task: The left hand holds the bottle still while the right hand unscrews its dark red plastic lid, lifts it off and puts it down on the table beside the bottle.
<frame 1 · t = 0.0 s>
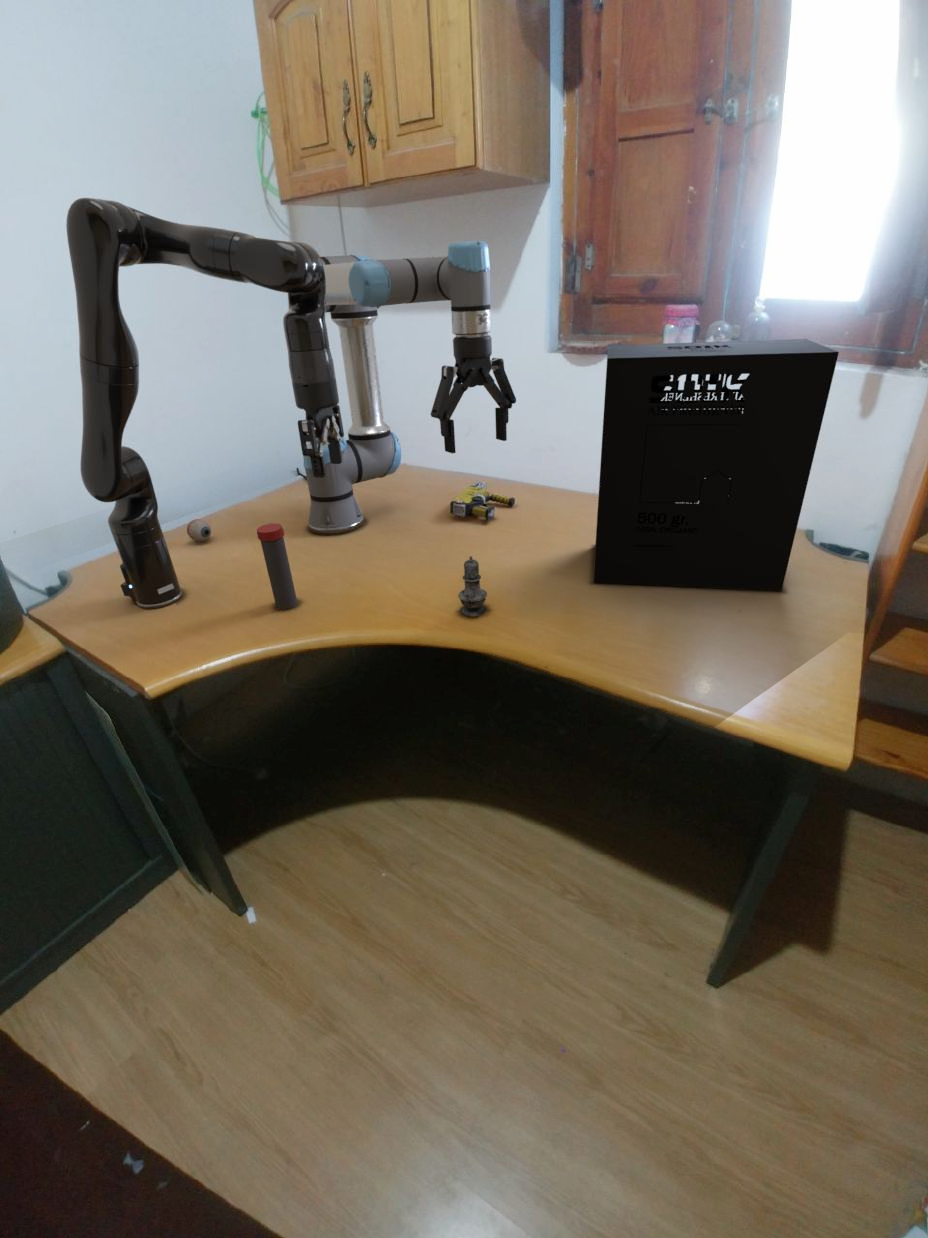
left hand: (328, 469, 112), 29 cm above the table, tool pointing down, fingers open, 8 cm apart
right hand: (476, 445, 127), 28 cm above the table, tool pointing down, fingers open, 13 cm apart
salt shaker: (473, 610, 123), on the table
bottle: (286, 604, 129), on the table
toy gun: (487, 508, 175), on the table
cardboard box: (679, 567, 135), on the table
eyeball: (202, 541, 164), on the table
lid: (269, 529, 121), point 17 cm above the table, screwed on, not yet turned
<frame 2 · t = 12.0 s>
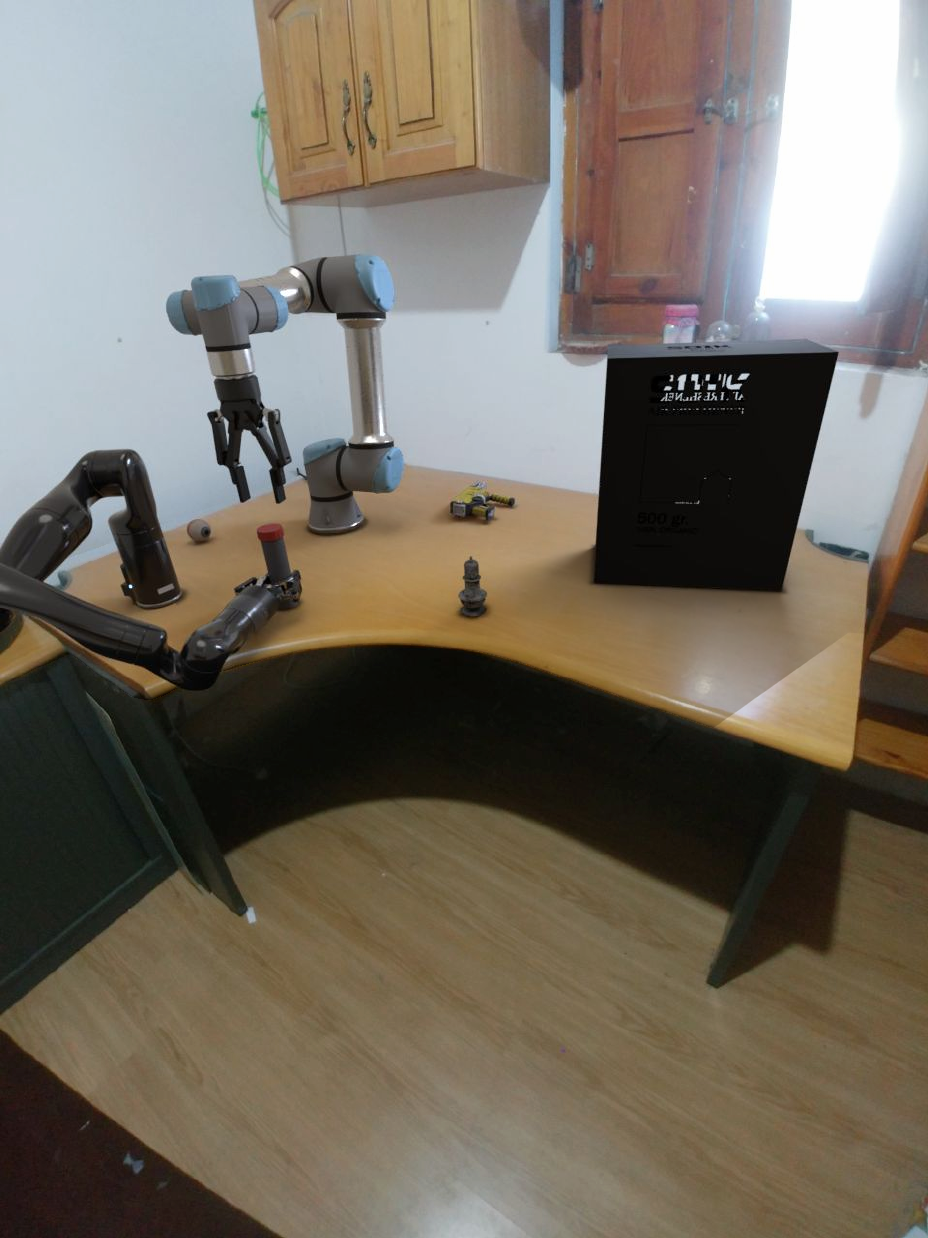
left hand: (286, 573, 129), 6 cm above the table, tool horizontal, fingers closed on bottle, 4 cm apart
right hand: (263, 500, 118), 23 cm above the table, tool pointing down, fingers open, 7 cm apart
bottle: (286, 604, 129), on the table, touching left hand
everything else where it was.
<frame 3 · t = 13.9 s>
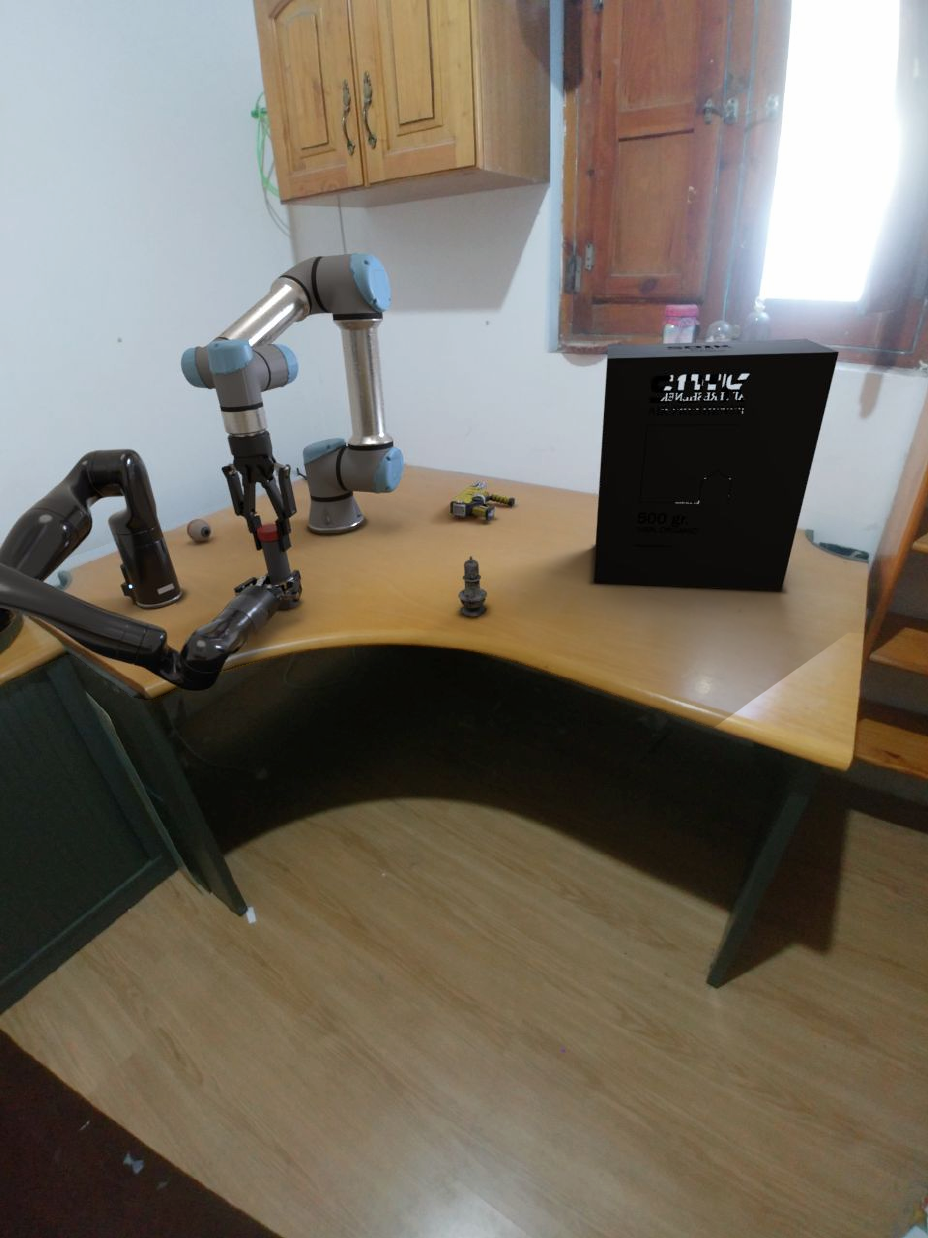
left hand: (286, 573, 129), 6 cm above the table, tool horizontal, fingers closed on bottle, 4 cm apart
right hand: (274, 548, 123), 13 cm above the table, tool pointing down, fingers closed on lid, 5 cm apart
bottle: (286, 604, 129), on the table, touching left hand
lid: (269, 529, 121), point 17 cm above the table, screwed on, not yet turned, touching right hand
everything else where it was.
when the right hand's fingers open (13 cm above the table, at t = 15.1 s): lid stays where it is, point 18 cm above the table.
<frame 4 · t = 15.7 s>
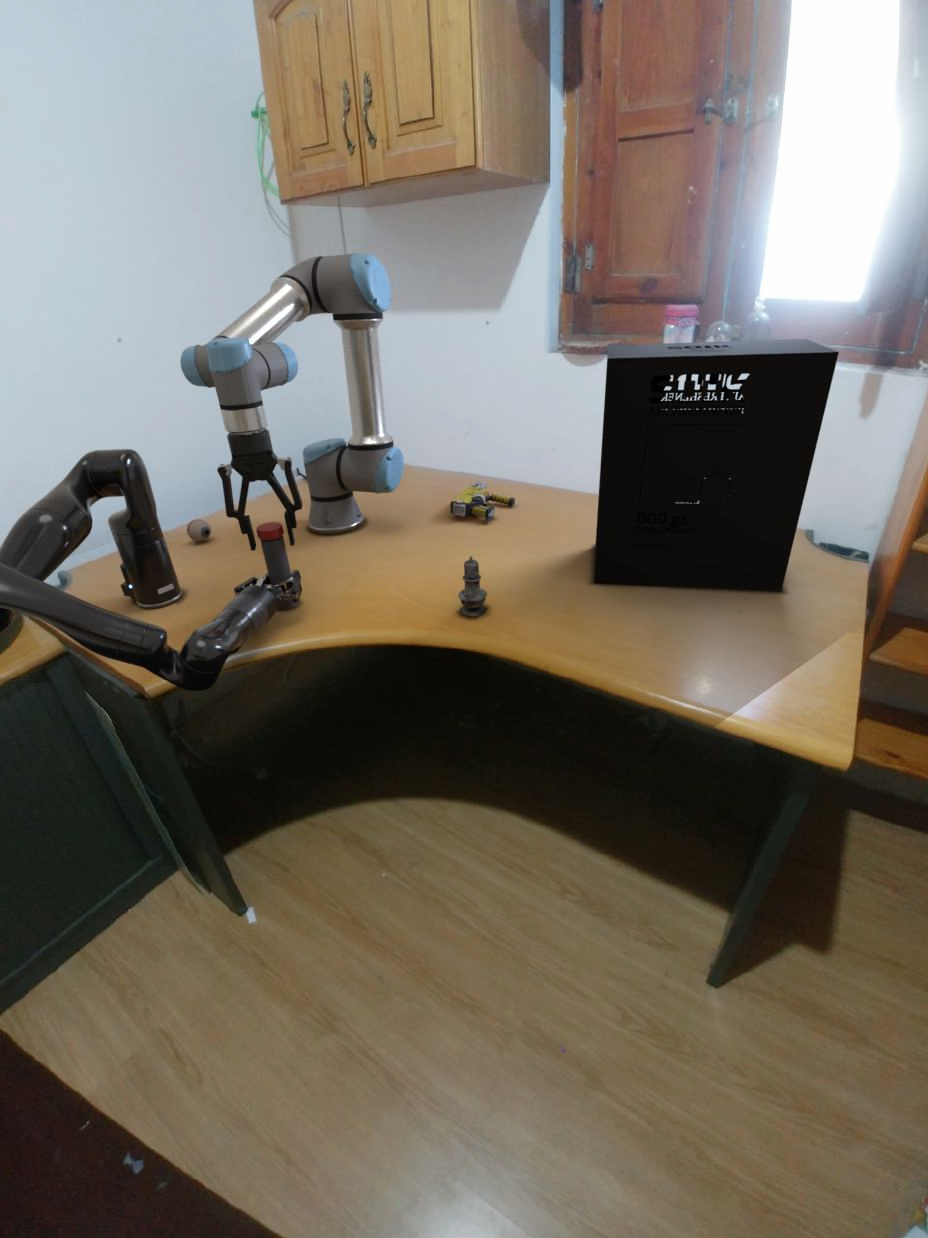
left hand: (286, 573, 129), 6 cm above the table, tool horizontal, fingers closed on bottle, 4 cm apart
right hand: (273, 545, 123), 14 cm above the table, tool pointing down, fingers open, 7 cm apart
bottle: (286, 604, 129), on the table, touching left hand
lid: (269, 528, 121), point 18 cm above the table, turned 85° so far, risen 0.3 cm, still on its thread
everything else where it was.
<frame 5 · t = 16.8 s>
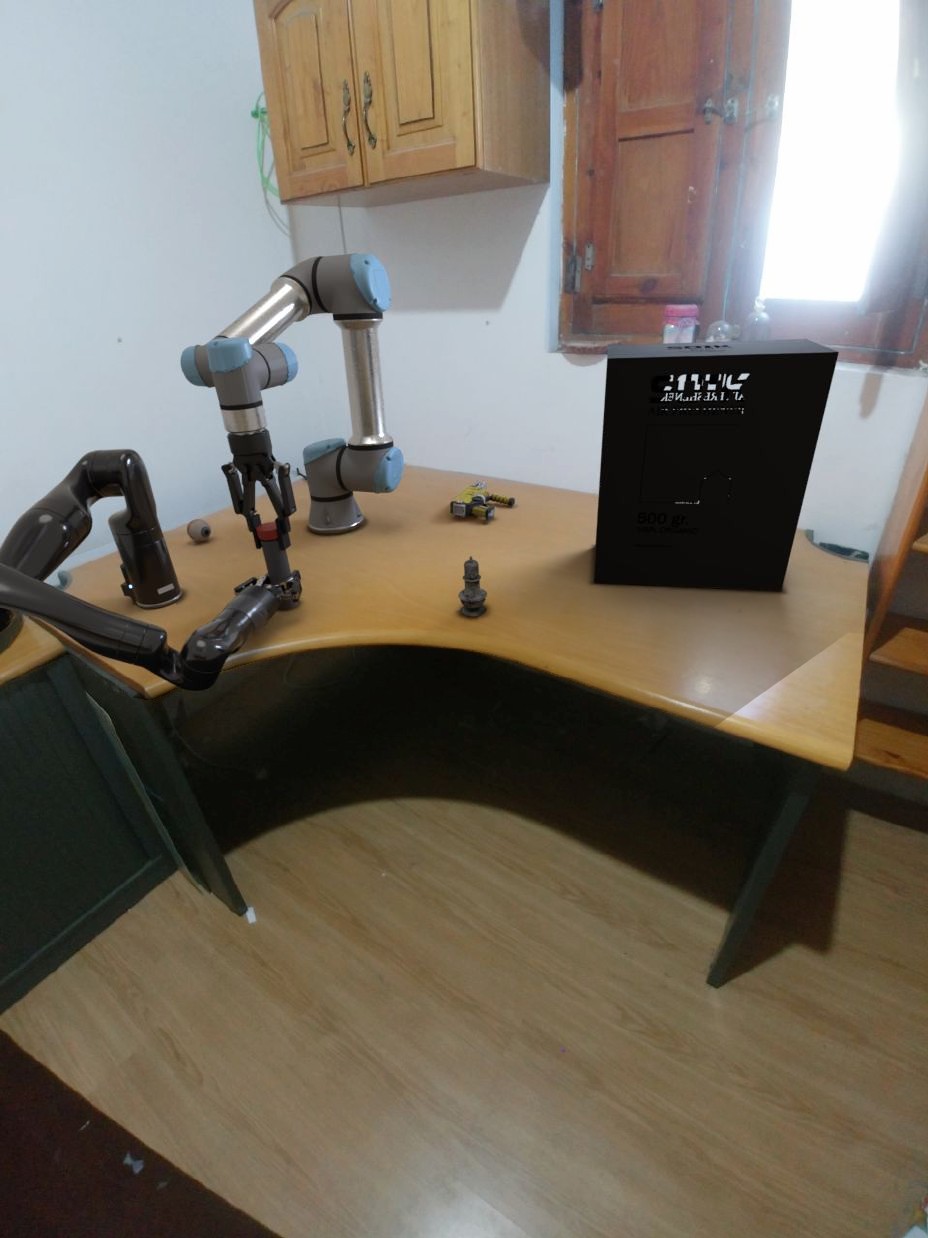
left hand: (286, 573, 129), 6 cm above the table, tool horizontal, fingers closed on bottle, 4 cm apart
right hand: (273, 546, 123), 13 cm above the table, tool pointing down, fingers closed on lid, 5 cm apart
bottle: (286, 604, 129), on the table, touching left hand
lid: (269, 528, 121), point 18 cm above the table, turned 85° so far, risen 0.3 cm, still on its thread, touching right hand
everything else where it was.
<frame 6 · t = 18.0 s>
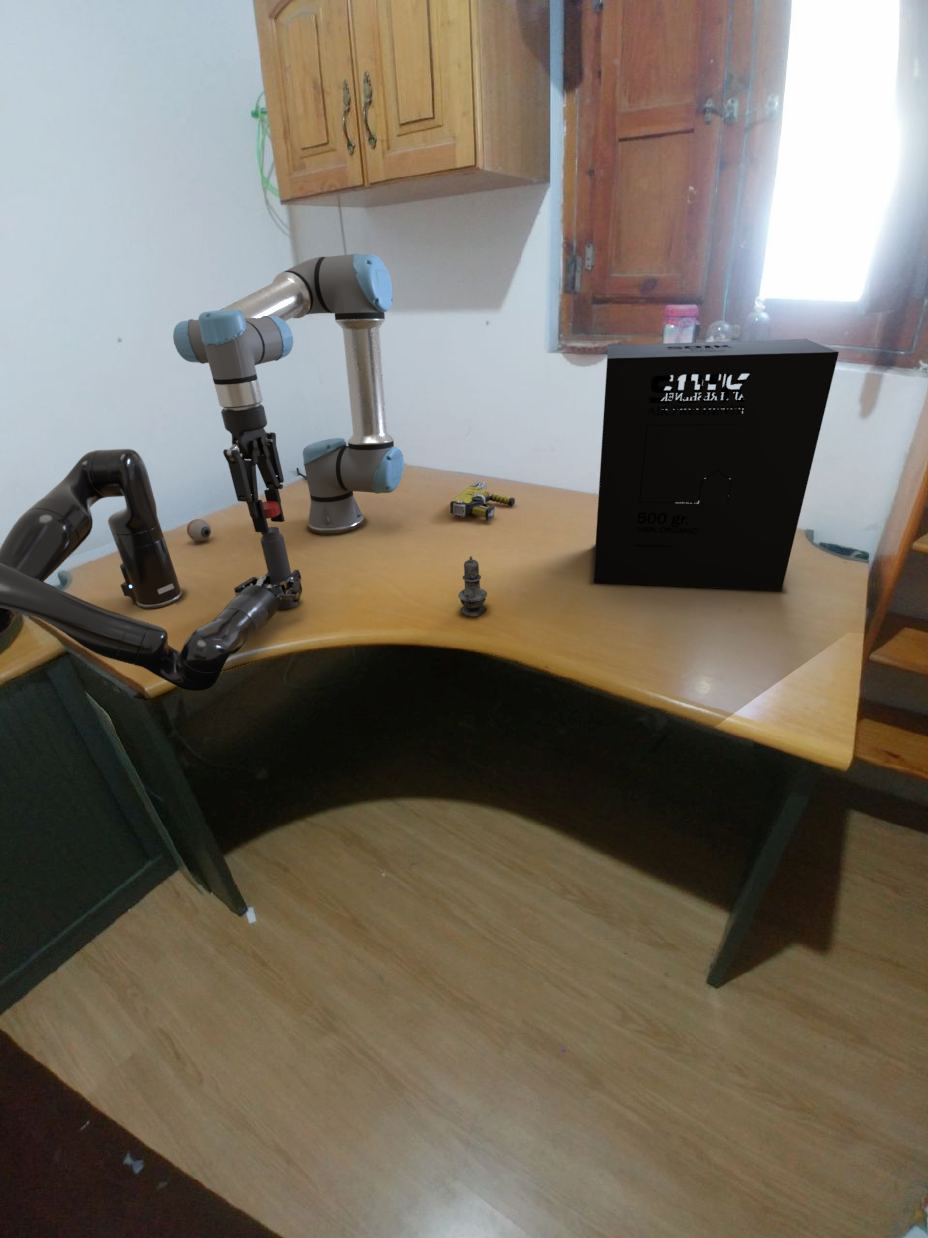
left hand: (286, 573, 129), 6 cm above the table, tool horizontal, fingers closed on bottle, 4 cm apart
right hand: (270, 526, 121), 18 cm above the table, tool pointing down, fingers closed on lid, 5 cm apart
bottle: (286, 604, 129), on the table, touching left hand
lid: (265, 506, 119), point 22 cm above the table, off its thread, touching right hand
everything else where it was.
when the right hand's fingers open (0 cm above the table, at t = 22.4 s): lid drops 3 cm, point 2 cm above the table.
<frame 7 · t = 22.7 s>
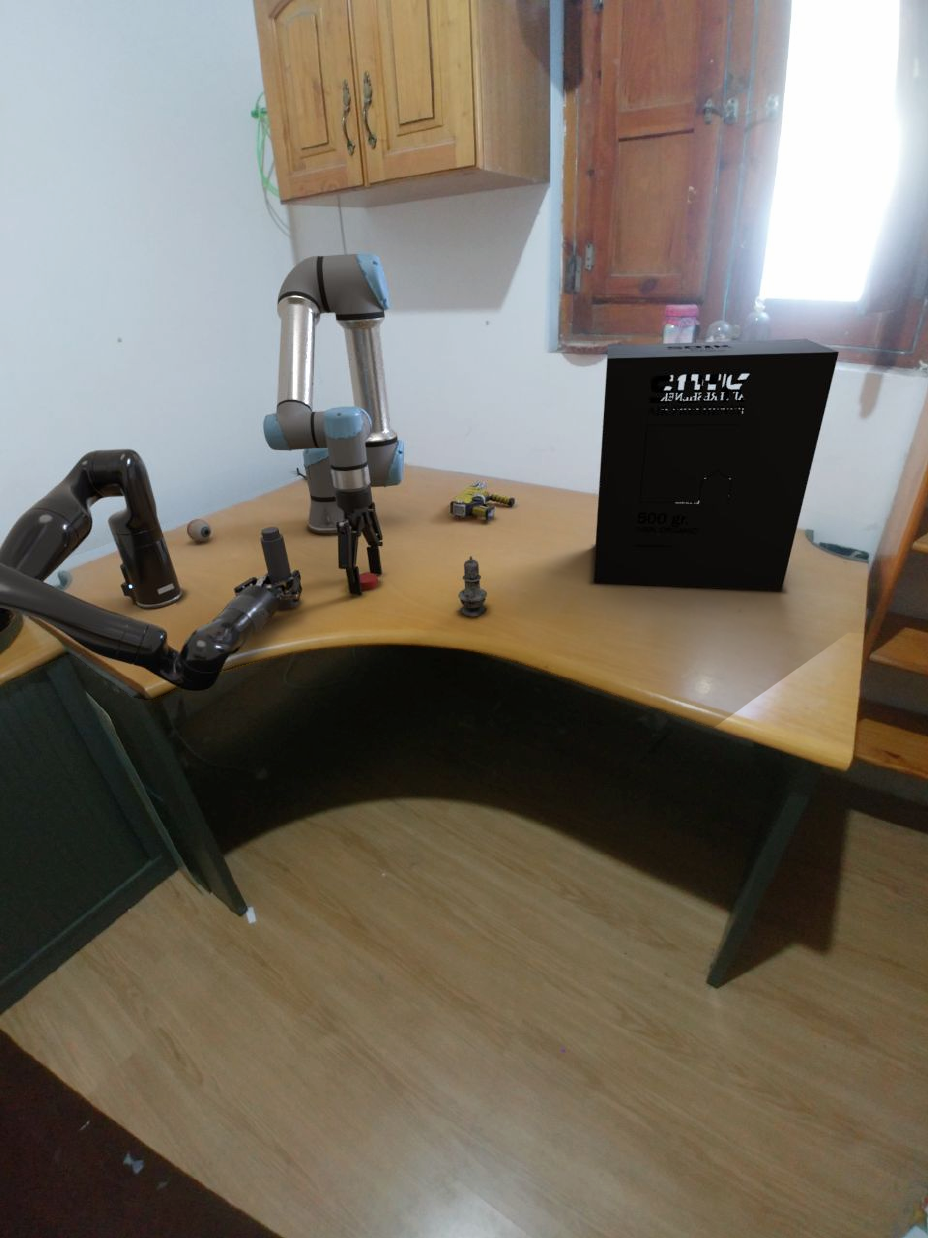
left hand: (286, 573, 129), 6 cm above the table, tool horizontal, fingers closed on bottle, 4 cm apart
right hand: (366, 583, 136), 0 cm above the table, tool pointing down, fingers open, 10 cm apart
bottle: (286, 604, 129), on the table, touching left hand
lid: (365, 578, 135), point 2 cm above the table, off its thread
everything else where it was.
when the left hand's fingers open (6 cm above the table, at t = 23.6 s): bottle stays where it is, on the table.
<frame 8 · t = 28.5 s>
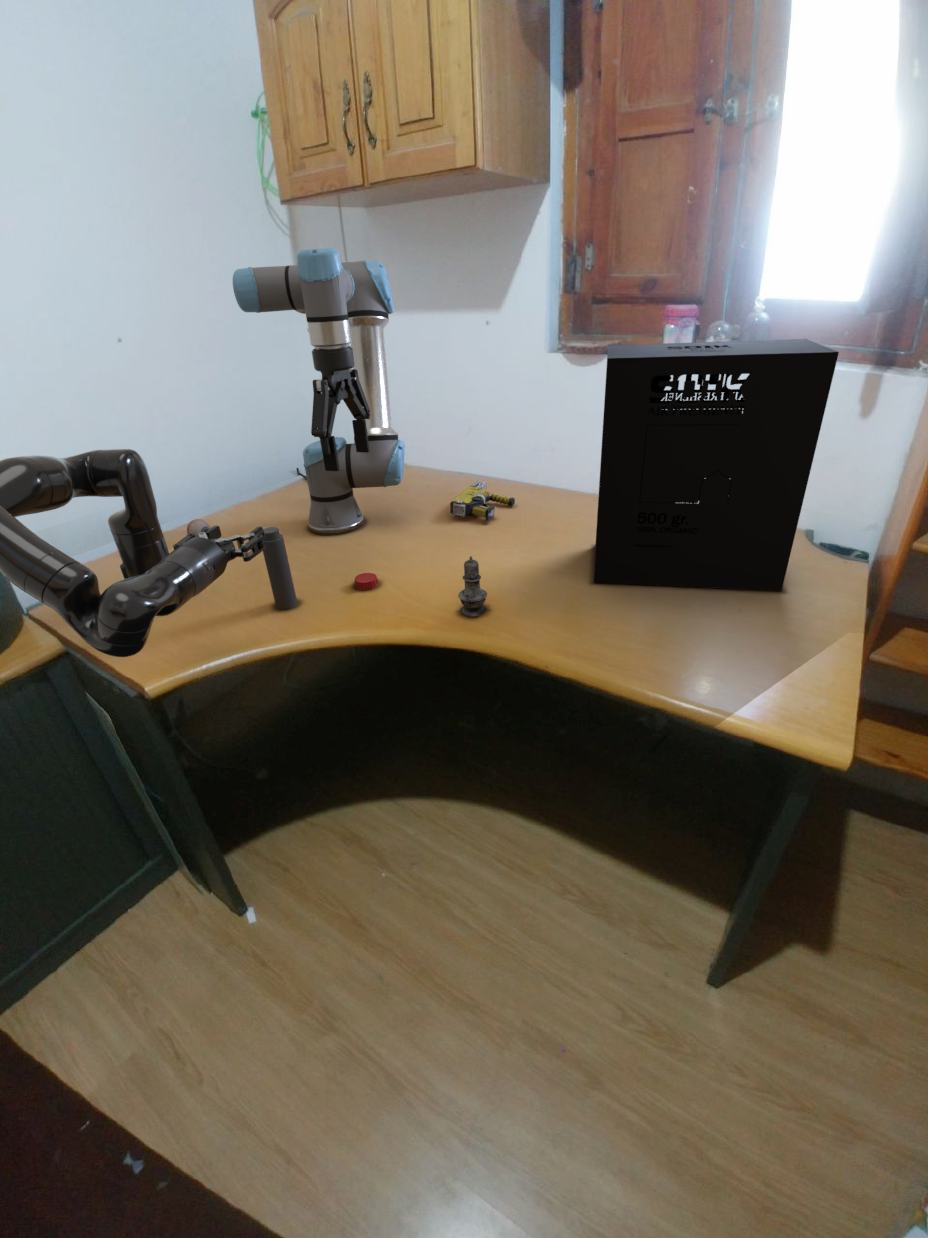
left hand: (240, 530, 110), 21 cm above the table, tool horizontal, fingers open, 8 cm apart
right hand: (348, 460, 122), 28 cm above the table, tool pointing down, fingers open, 13 cm apart
bottle: (286, 604, 129), on the table
everything else where it was.
at the end: lid came off its thread; lid point 1.5 cm above the table; the left hand is holding nothing; the right hand is holding nothing; bottle tilted 0°; bottle moved 0.0 cm from its start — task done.
